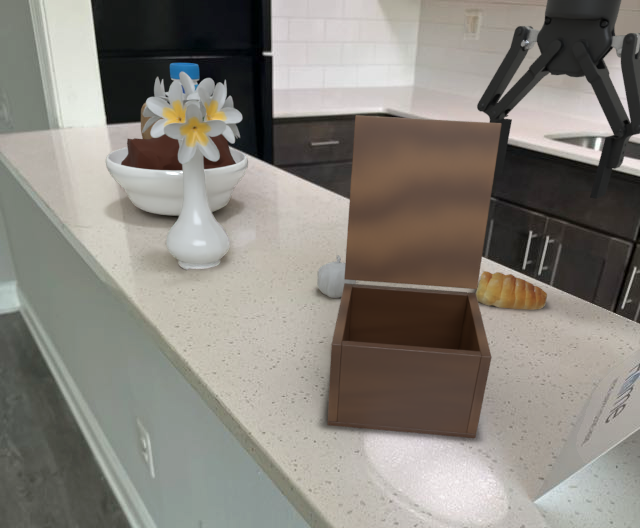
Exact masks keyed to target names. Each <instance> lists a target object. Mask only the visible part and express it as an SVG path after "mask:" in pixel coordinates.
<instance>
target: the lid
mask: <svg viewBox="0 0 640 528" xmlns="http://www.w3.org/2000/svg"><path fill="white" fill-rule="evenodd" d="M501 125H502V124H501V123H490V122H488V121H487V122H486V121H467V120H452V119H451V120H449V119H431V118H415V117H414V118H411V117H394V116H393V117H392V116H376V115H359V114H358V115H357V114H356V115H355V117H354V131H353V145H352V160H351V176H350V188H349V189H350V191H349V204H348V205H349V207H348V218H347V235H346V250H345V262H344V263H345V277H344V279H345V280H356V281H359V282H360V281H361V282H373V283H374V282H375V283H386V284H387V283H388V284H402V285H414V286H415V285H416V286H428V287H429V286H430V287H441V288H442V287H443V288H454V289H455V288H457V289H470V290H477V288H478V285H479V281H480V272H481V266H482V258H483V253H484V245H485V240H486V239H485V238H486V233H487V225H488V219H489V212H490V205H491V199H492V198H491V197H492V191H493V184H494V178H495V177H494V172H495V165H496V158H497V152H498V145H499V138H500V131H501Z"/></svg>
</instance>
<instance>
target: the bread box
mask: <svg viewBox="0 0 640 528" xmlns="http://www.w3.org/2000/svg"><path fill="white" fill-rule="evenodd" d="M330 345H331V347H330V365H329V387H328V407H327V423H326V425H327V426H333V427H344V428H354V429H355V428H356V429H366V430H376V431H377V430H378V431H389V432H399V433H400V432H401V433H410V434H411V433H412V434H423V435H433V436H434V435H435V436H445V437H455V438H456V437H457V438H467V439H476V437H477V433H478V428H479V422H480V417H481V413H482V408H483V403H484V397H485V392H486V387H487V382H488V377H489V372H490V367H491V362H492V354H491V353H492V352H491V348H490V345H489V341H488V337H487V333H486V329H485V325H484V320H483V316H482V313H481V309H480V303H479V302H478V300H477V296H476V292H469V291H468V292H467V291H457V290H456V291H455V290H446V289H445V290H443V289H431V288H429V289H428V288H417V287H416V288H414V287H402V286H389V285H386V286H385V285H375V284H362V283H361V284H360V283H356V284H347V283H345V284H344V287H343V292H342V297H340V302H339V307H338V312H337V316H336V321H335V326H334V331H333V334H332V340H331V344H330Z"/></svg>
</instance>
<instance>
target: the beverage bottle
mask: <svg viewBox="0 0 640 528" xmlns="http://www.w3.org/2000/svg"><path fill="white" fill-rule="evenodd" d="M180 72H185V73H186V74H187V75H188V76H189V77H190V78H191V79H192V81H193V83H194V85H195V90H196V89H197V87H198V85H199V83H198V81H200V67H199V64H198V63H191V62H172V63H170V64H169V75H170V80H172V81H179V82H180V84H181V86H182V83H181V81H180V77H179V74H180ZM182 91H183V93H184V94H185V90H184V88H183V86H182Z"/></svg>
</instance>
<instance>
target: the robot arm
mask: <svg viewBox="0 0 640 528" xmlns="http://www.w3.org/2000/svg"><path fill="white" fill-rule="evenodd" d="M621 4H622V0H546V5H545V10H544V22H543V24H542V27H541V28H540V29H535V28H534V27H533V26H532V25H518V26H516V28H515V29H514V33H513V37H512V40H511V43H510V47H509V49H508V51H507V52H506V54H505V56H504V57H503V59H502V61H501V63H500V65H499V66H498V68H497V70H496V71H495V73H494V75H493V76H492V79H491V80H490V82H489V83H488V85H487V87H486V89H485V90H484V92H483V94H482V96H481V98H480V99H479V100H478V102H477V104H476V108H477V110H478V111H479V112H480V113H481V112H483V113H484V114H485V115H487V116H488V118H489V123H501V124H502V125H501V131H500V138H499V145H498V152H497V158H496V165H495V172H494V178H495V177H498V176H501V175H503V171H504V165H505V160H506V154H507V149H508V144H509V137H510V133H511V126H512V121H513V119H511V118H507V117H509V115H508V114H509V113H510V112H511V111H512V110H513V109H514V108H515V107H516V106H517V105H518V104H519V103H520V102H521V101H522V100H523V99H524V98H525V97H526V96H528V94H529V93H530V92H531V91H532V90H533V89H534V88H535V87H536V86H537V85H538V84H539V83H540V82H541V80H542V79H544V78H545V77H546V76H548V75H549V74H550V75H551V76H564V75H565V76H567V77H570V78H582V77H583V78H585V79H586V81H587V82H588V84H590V86H591V88H592V90H593V92H594V94H595V96H596V99H597V101H598V103H599V105H600V108H601V110H602V112H603V114H604V116H605V118H606V120H607V123H608V125H609V127H610V129H611V132H612V134H613V135H609V136H606V137H605V138H604V142H603V145H602V148H601V149H602V150H601V153H600V157H599V161H598V164H597V169H596V173H595V175H594V181H593V185H592V188H591V192H590V196H589V198H590V199H595V200H597V199H599V198H602V197H604V196H606V194H607V190H608V186H609V182H610V178H611V176H612V175H611V174H612V172H613V169H614V170H615V169H618V168H620V167H621V166H622V164H623V162H624V160H625V155H626V153H627V148H628V145H629V141H630V139H631V138H632V137H633V136H636V135H640V32H629V33H627V34H623V35H616V31H615V30H616V29H615V28H616V24H617V20H618V17H619V12H620V8H621ZM535 44H537V47H538V49H539V52H540V55H539V56H538V57H537V58H536V59H535V60H534V61H533V62H532V63H531V64H530V66H529V67H528V69H527V71H526V72H525V73H523V75H522V76H521V77H520V78H519V79H518V80H517V81H516V82H515V83H514V85H512V86H511V88H510V89H509V90H508V91H507V92H506V89H507V88H508V86H509V85H510V83H511V81H512V79H513V78H514V76H515V75H516V73H517V71H518V70H519V68H520V66H521V64H522V63H523V61H524V60H525V59H526V56H527V54H528V52H529V50H532V49H533V47H534V46H535ZM613 48H614V49H615V52H616V53H615V54H616V56H617V57H618V58H620V68H621V75H622V80H623V86H624V92H625V97H626V104H627V108H628V109H627V110H628V114H627V112H626V109H625V108H624V105H623V103H622V101H621V98H620V97H619V94H618V92H617V90H616V87H615V86H614V83H613V81H612V79H611V76H610V71H609V69H608V66H607V64H606V61H605V60H604V59H605V58H606V57H607V56H608V55H609V53H610V52H611V51H612V50H613ZM505 92H506V93H505ZM504 93H505V94H504ZM628 115H629V116H628Z"/></svg>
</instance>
